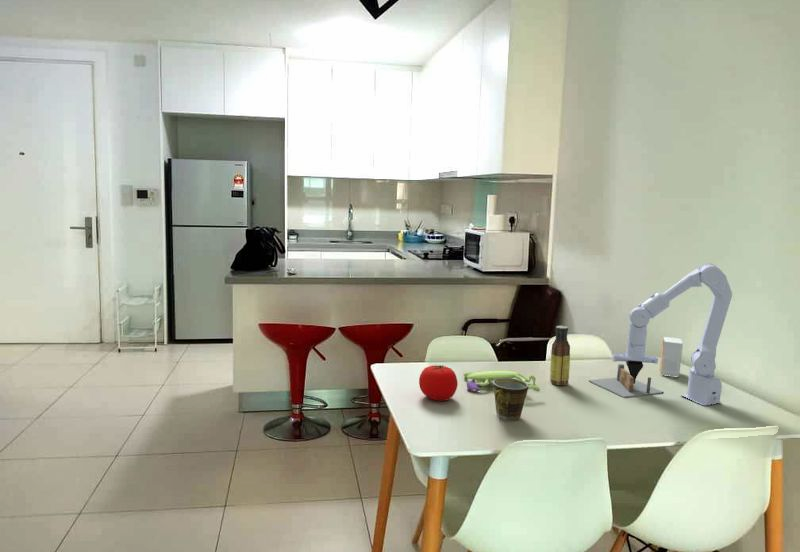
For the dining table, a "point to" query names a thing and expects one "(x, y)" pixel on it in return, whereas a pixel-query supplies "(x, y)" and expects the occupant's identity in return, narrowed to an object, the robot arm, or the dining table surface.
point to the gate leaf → (626, 379)
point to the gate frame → (620, 389)
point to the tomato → (438, 382)
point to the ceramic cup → (509, 397)
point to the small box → (671, 356)
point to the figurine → (494, 378)
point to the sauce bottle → (560, 358)
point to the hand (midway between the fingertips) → (632, 382)
